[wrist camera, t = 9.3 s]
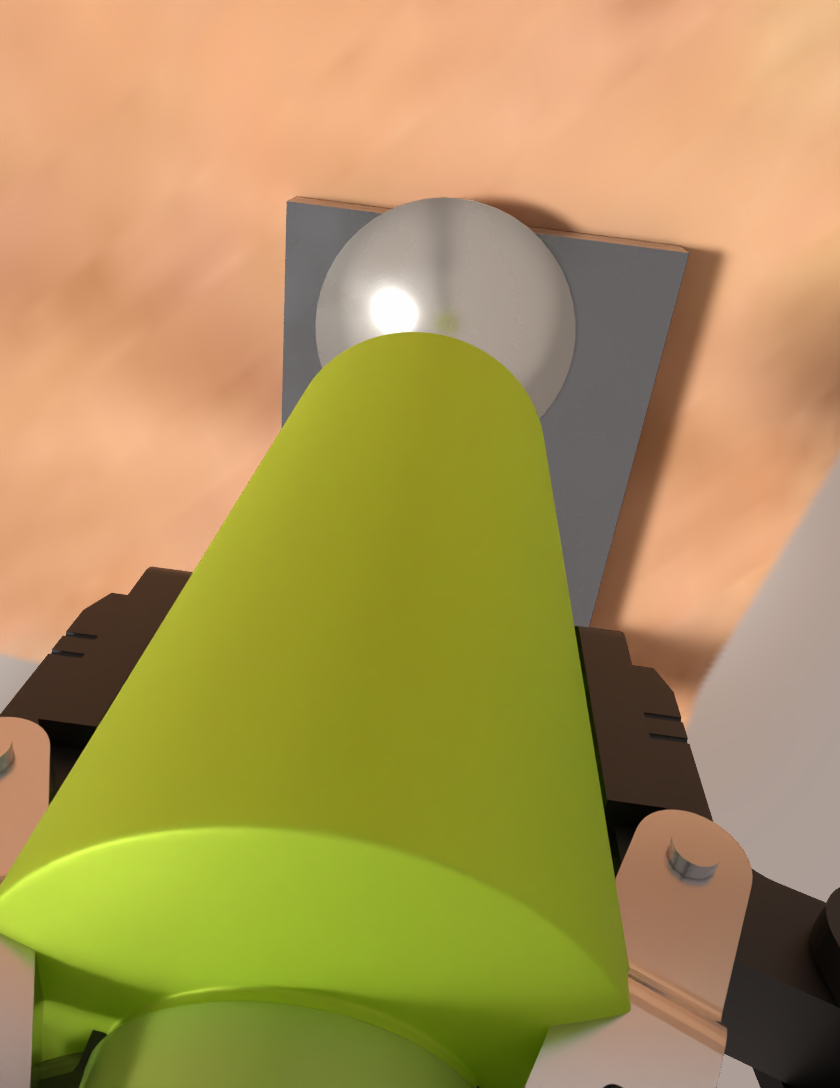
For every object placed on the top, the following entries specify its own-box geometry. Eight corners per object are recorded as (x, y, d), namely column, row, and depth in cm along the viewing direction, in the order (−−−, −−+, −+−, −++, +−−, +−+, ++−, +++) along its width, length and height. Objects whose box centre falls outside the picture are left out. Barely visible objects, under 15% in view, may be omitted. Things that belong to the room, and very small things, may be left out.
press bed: (296, 172, 28) (281, 177, 26) (686, 222, 28) (701, 231, 26) (283, 637, 38) (272, 667, 36) (567, 676, 38) (571, 708, 36)
